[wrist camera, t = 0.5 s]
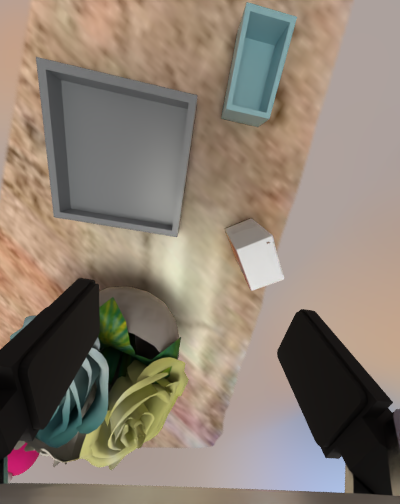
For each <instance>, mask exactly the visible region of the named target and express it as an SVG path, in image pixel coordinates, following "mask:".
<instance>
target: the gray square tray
mask: <svg viewBox="0 0 400 504" xmlns="http://www.w3.org/2000/svg"><path fill="white" fill-rule="evenodd" d="M36 62H37V71H38V80H39V89H40V98H41V106H42V115H43V124H44V133H45V142H46V151H47V160H48V169H49V177H50V186H51V195H52V204H53V213H54V217H56V218H62V219H69V220H75V221H81V222H87V223H93V224H99V225H106V226H112V227H118V228H124V229H130V230H136V231H143V232H149V233H155V234H161V235H167V236H173V237H177V235H178V231H179V225H180V218H181V211H182V205H183V198H184V191H185V184H186V177H187V170H188V163H189V156H190V149H191V142H192V135H193V128H194V121H195V114H196V108H197V95H194V94H190V93H186V92H181V91H177V90H173V89H169V88H165V87H160V86H156V85H152V84H148V83H144V82H139V81H135V80H131V79H127V78H123V77H118V76H114V75H110V74H106V73H102V72H97V71H93V70H89V69H85V68H81V67H76V66H72V65H68V64H64V63H59V62H55V61H51V60H47V59H43V58H38V57H36Z"/></svg>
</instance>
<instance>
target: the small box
mask: <svg viewBox="0 0 400 504" xmlns="http://www.w3.org/2000/svg"><path fill="white" fill-rule="evenodd" d="M225 232H226V234H227V237H228V239H229V242H230V244H231V247H232V250H233V252H234V255H235V258H236V260H237V263H238V264H239V267H240V269H241V271H242V273H243V275H244V277H245V279H246V282H247V284H248V286H249V288H250V290H251V291H252V290H255V289H258V288H261V287H264V286H267V285H270V284H273V283H275V282H278V281H281V280H284V276H283V272H282V269H281V266H280V262H279V258H278V255H277V251H276V247H275V243H274V238H273V235H272V234H270V233H269V232H268V231H267V230H265V229H264V228H263V227H262V226H261V225H259V224H258V223H257V222H256V221H254V220H253V219H252V218H251V219H248V220H246V221H243V222H241V223H238V224H236V225H233V226H231V227H228V228H226V229H225Z"/></svg>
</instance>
